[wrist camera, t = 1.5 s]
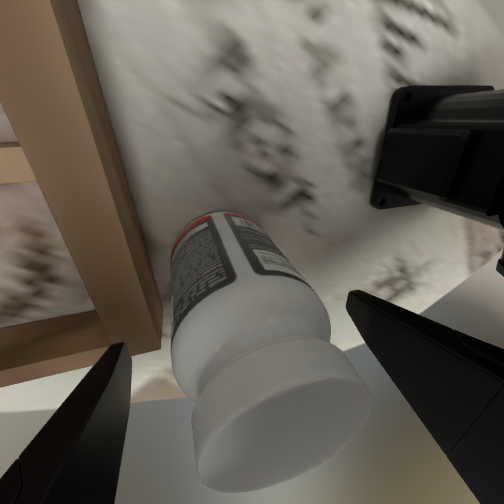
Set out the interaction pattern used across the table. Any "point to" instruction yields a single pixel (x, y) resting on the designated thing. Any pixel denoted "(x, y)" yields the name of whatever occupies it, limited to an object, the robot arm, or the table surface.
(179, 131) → the table surface
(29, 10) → the wooden divided tray
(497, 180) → the robot arm
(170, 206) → the table surface
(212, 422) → the pill bottle
